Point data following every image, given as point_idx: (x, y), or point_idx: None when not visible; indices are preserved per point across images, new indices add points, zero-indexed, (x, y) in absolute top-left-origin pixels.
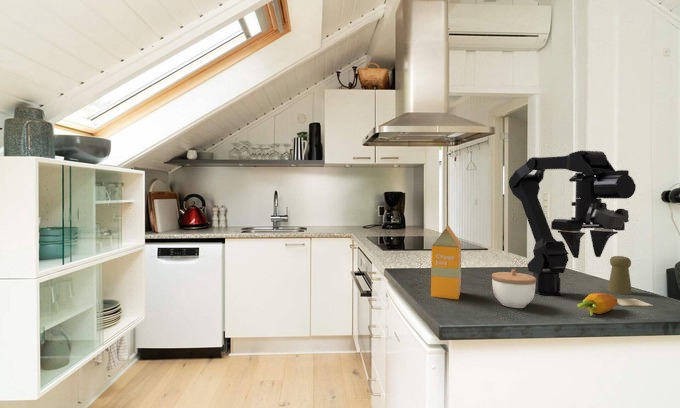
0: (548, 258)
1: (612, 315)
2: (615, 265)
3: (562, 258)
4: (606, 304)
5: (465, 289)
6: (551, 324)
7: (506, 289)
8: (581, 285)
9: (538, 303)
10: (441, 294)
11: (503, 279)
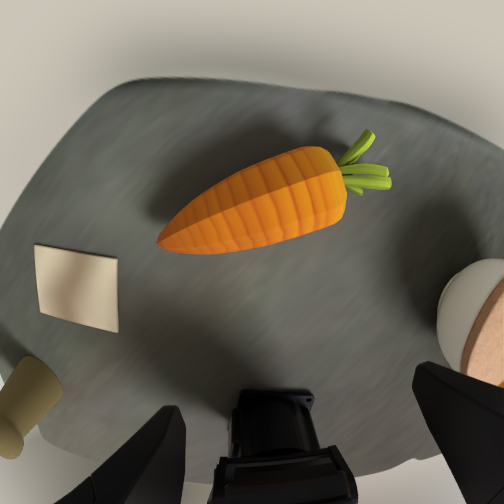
0: (346, 483)
1: (258, 156)
2: (16, 430)
3: (264, 494)
4: (296, 150)
5: None
6: (479, 136)
7: None
8: (103, 443)
9: (395, 312)
10: None
11: None
